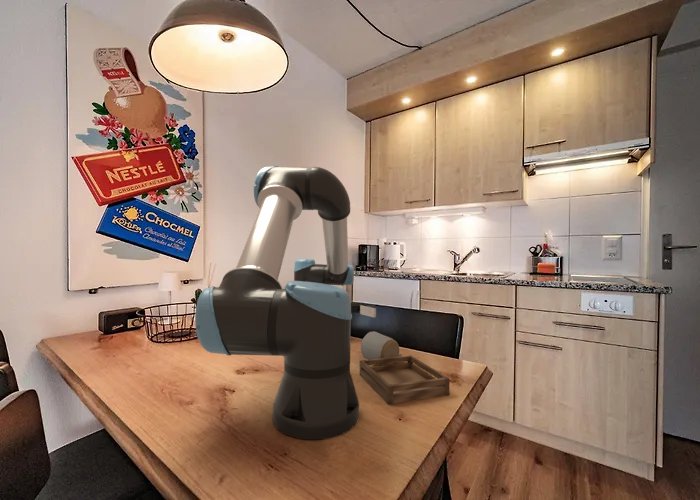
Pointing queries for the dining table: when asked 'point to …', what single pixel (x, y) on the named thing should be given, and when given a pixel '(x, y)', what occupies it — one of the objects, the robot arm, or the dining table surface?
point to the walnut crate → (403, 379)
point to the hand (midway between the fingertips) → (358, 315)
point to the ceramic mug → (379, 347)
